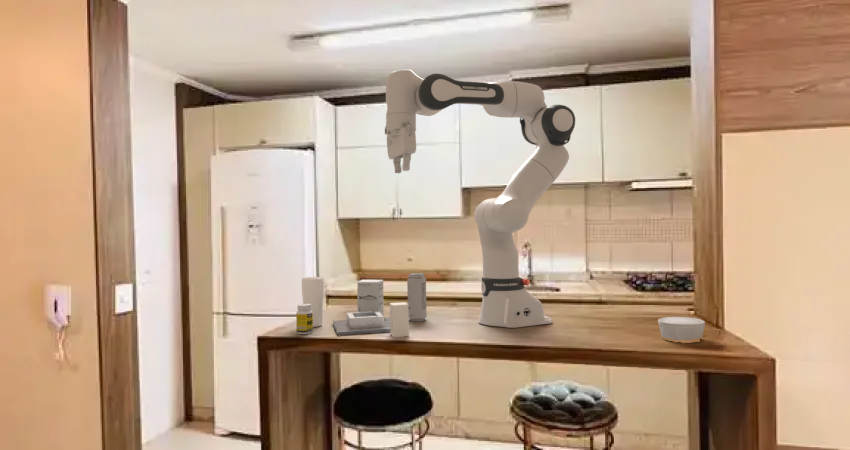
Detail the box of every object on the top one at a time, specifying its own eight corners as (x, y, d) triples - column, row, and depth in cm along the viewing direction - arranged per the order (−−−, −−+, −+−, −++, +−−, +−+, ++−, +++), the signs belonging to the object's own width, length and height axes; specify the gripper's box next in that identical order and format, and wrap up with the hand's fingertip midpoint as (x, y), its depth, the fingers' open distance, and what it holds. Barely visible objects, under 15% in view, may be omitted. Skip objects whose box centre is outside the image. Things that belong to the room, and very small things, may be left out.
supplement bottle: (309, 334, 163) (308, 305, 163) (293, 334, 164) (293, 305, 164) (315, 331, 168) (315, 303, 168) (300, 331, 169) (300, 303, 169)
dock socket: (388, 320, 183) (388, 308, 183) (399, 331, 166) (399, 317, 165) (332, 324, 179) (332, 311, 179) (337, 335, 161) (337, 321, 161)
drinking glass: (314, 323, 181) (313, 276, 181) (329, 325, 177) (328, 277, 177) (298, 326, 176) (297, 278, 175) (313, 328, 172) (312, 279, 171)
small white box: (405, 333, 163) (405, 302, 163) (408, 336, 159) (408, 304, 159) (390, 334, 162) (389, 303, 162) (393, 337, 158) (392, 305, 158)
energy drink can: (410, 318, 187) (409, 272, 186) (428, 318, 186) (427, 272, 185) (406, 321, 181) (405, 274, 181) (424, 321, 180) (423, 274, 179)
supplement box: (357, 320, 185) (356, 281, 184) (363, 316, 192) (362, 279, 192) (379, 320, 183) (378, 281, 183) (384, 316, 191) (383, 279, 190)
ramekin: (649, 338, 152) (648, 318, 152) (679, 334, 156) (679, 315, 156) (683, 346, 141) (682, 325, 141) (714, 342, 146) (714, 321, 146)
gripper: (421, 119, 158) (422, 169, 159) (402, 130, 178) (403, 174, 178) (399, 119, 157) (400, 168, 157) (383, 130, 176) (384, 174, 176)
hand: (401, 171), depth 168 cm, fingers open, 8 cm apart
